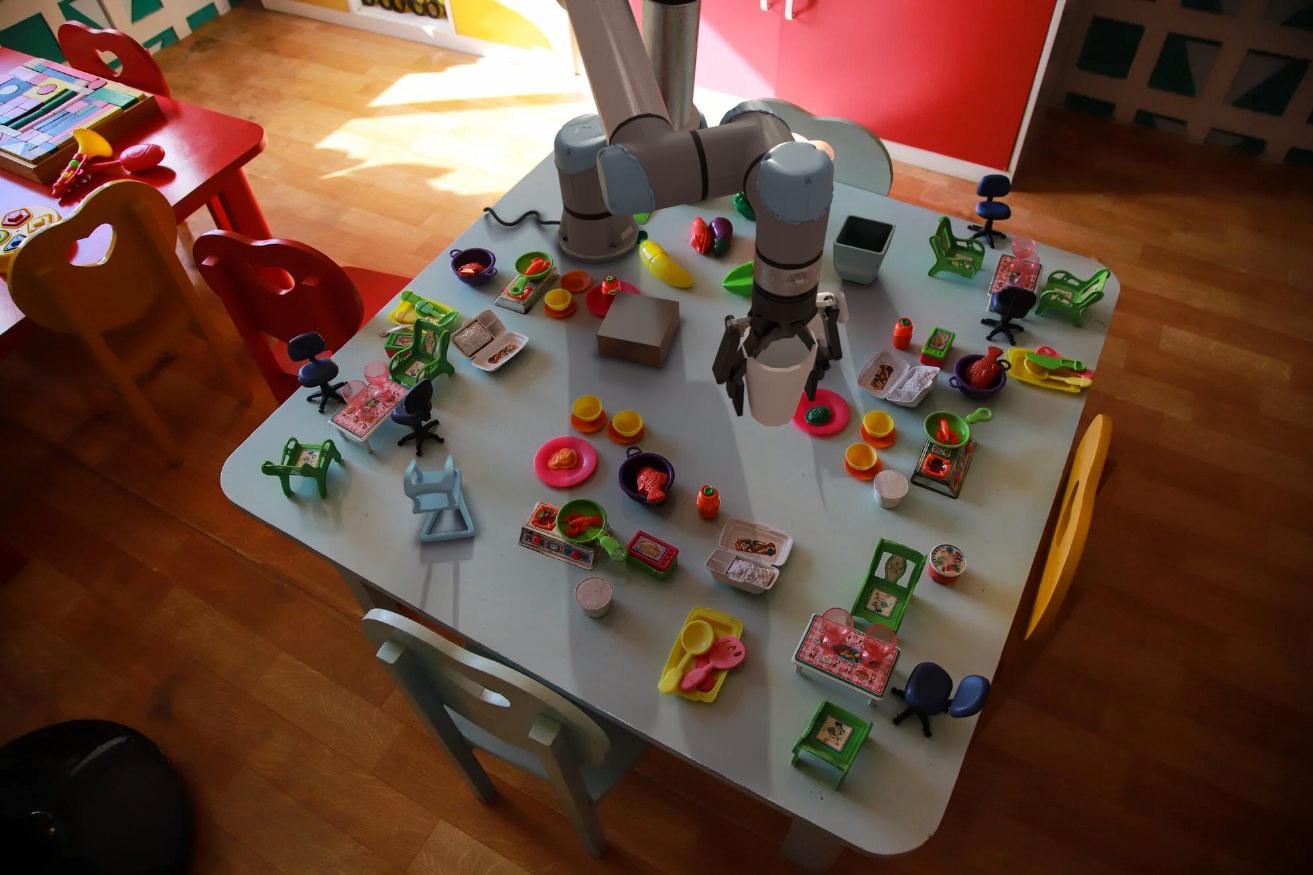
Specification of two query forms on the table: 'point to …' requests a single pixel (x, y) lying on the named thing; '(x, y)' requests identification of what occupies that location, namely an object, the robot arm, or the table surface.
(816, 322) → the elephant figurine
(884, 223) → the flower pot
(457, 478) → the chair
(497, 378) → the table surface
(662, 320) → the block
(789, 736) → the table surface
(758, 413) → the foam cup
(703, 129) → the robot arm
